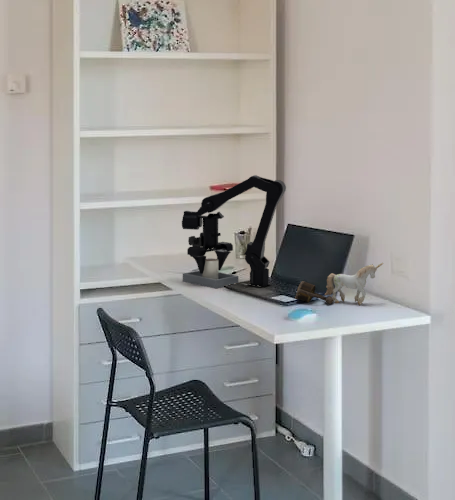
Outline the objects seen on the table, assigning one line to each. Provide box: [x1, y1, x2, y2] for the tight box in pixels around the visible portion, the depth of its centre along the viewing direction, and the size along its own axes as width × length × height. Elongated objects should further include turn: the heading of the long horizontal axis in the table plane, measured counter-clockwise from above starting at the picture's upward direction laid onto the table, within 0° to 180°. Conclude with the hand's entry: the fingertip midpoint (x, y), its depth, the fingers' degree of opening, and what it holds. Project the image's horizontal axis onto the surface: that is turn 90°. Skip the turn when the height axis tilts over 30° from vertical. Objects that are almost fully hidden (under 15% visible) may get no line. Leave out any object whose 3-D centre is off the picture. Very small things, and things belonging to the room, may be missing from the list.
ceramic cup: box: [202, 257, 219, 280], centre depth 328 cm, size 6×6×8 cm
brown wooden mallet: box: [294, 280, 334, 305], centre depth 298 cm, size 7×13×10 cm
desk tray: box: [182, 270, 239, 289], centre depth 329 cm, size 18×12×3 cm, turn 46°
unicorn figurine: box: [323, 262, 384, 306], centre depth 297 cm, size 7×20×13 cm, turn 85°
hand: (210, 271), depth 329 cm, fingers open, 9 cm apart
